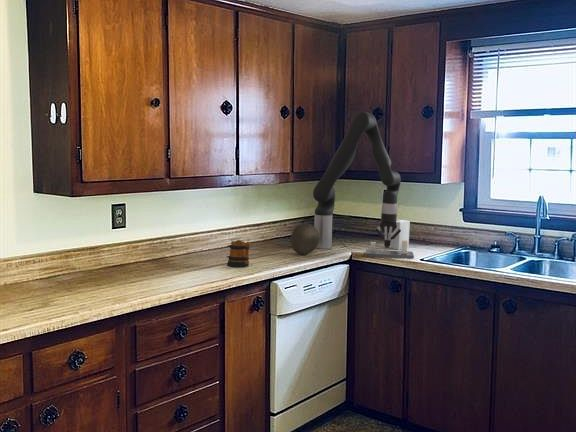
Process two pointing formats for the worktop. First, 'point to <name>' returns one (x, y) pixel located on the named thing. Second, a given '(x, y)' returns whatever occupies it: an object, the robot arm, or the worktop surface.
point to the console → (386, 253)
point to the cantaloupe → (304, 239)
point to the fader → (404, 247)
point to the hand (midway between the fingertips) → (387, 247)
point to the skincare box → (401, 234)
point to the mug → (238, 254)
